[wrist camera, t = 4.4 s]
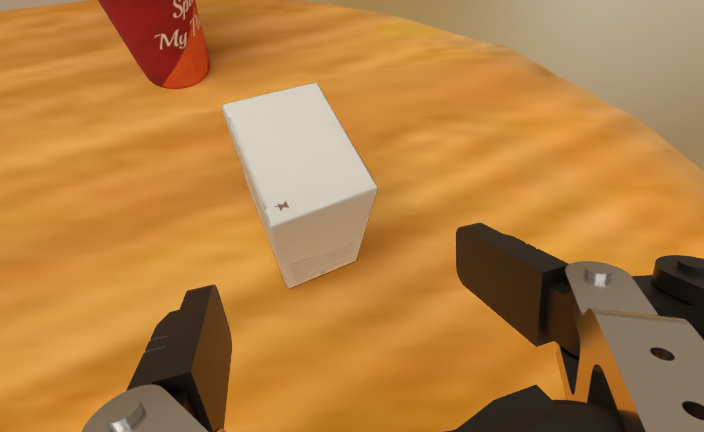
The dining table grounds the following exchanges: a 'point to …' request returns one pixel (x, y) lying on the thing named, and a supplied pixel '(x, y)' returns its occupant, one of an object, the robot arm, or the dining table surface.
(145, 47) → the coffee cup
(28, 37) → the dining table surface
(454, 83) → the dining table surface
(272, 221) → the small box
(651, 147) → the dining table surface
